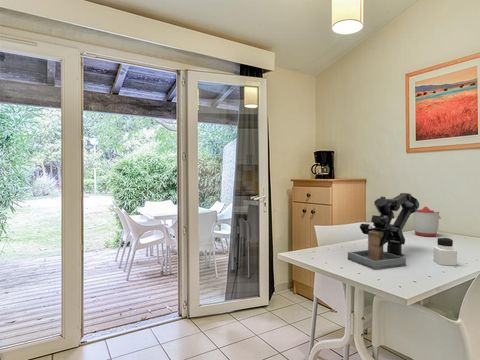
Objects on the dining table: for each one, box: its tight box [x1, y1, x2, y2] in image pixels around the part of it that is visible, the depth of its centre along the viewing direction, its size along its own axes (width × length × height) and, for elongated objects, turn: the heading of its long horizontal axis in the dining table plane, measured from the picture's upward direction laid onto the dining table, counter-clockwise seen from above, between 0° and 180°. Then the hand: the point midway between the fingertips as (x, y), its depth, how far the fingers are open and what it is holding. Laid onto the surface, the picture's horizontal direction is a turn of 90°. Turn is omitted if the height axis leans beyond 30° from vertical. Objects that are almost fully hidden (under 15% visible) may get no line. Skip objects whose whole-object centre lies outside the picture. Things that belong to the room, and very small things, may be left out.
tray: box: [347, 249, 407, 271], centre depth 147 cm, size 18×18×4 cm
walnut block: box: [367, 230, 384, 261], centre depth 147 cm, size 5×5×13 cm
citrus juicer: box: [412, 206, 442, 237], centre depth 212 cm, size 16×17×20 cm
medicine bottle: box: [433, 237, 458, 267], centre depth 146 cm, size 7×7×12 cm
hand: (374, 245), depth 146 cm, fingers open, 5 cm apart
